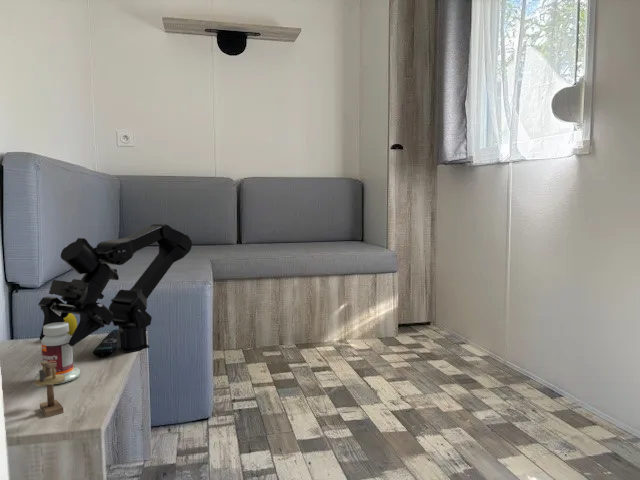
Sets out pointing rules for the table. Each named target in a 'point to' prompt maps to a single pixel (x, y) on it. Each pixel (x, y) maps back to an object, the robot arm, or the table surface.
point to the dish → (68, 377)
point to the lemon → (71, 323)
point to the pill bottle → (57, 347)
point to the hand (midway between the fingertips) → (55, 342)
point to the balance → (49, 388)
